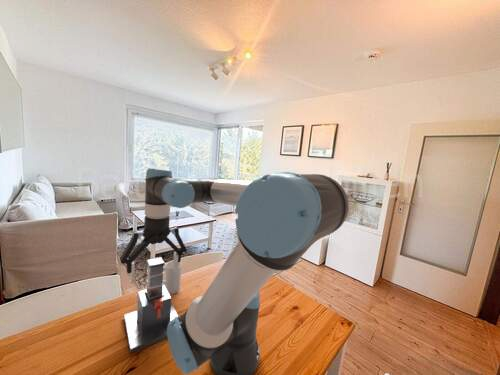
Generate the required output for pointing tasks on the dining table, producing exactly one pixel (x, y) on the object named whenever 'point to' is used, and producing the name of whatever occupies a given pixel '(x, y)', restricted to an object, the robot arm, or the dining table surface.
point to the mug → (172, 277)
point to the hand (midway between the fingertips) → (154, 275)
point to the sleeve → (149, 320)
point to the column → (154, 278)
